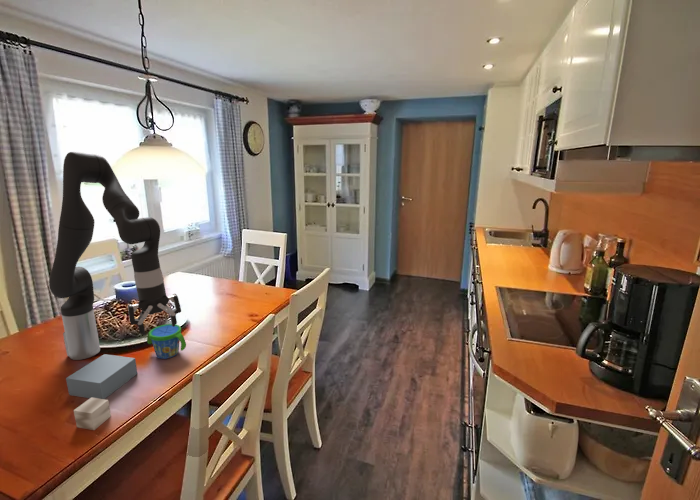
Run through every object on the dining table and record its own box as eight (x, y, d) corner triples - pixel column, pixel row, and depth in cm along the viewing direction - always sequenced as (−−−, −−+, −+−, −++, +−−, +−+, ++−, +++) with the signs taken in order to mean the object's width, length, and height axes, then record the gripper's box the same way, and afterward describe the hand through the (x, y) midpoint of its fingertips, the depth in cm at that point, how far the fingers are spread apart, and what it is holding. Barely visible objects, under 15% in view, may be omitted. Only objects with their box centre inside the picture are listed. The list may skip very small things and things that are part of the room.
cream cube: (76, 427, 95) (73, 410, 94) (94, 413, 101) (91, 397, 99) (94, 430, 95) (91, 413, 93) (110, 416, 100) (108, 400, 98)
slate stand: (69, 395, 108) (65, 378, 106) (106, 369, 121) (104, 354, 120) (102, 400, 106) (99, 383, 105) (137, 373, 119) (135, 358, 118)
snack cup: (194, 352, 134) (192, 328, 131) (171, 366, 124) (169, 341, 122) (164, 343, 139) (161, 320, 136) (140, 356, 130) (137, 332, 127)
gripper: (172, 274, 114) (180, 319, 118) (121, 284, 106) (132, 332, 110) (177, 280, 108) (185, 327, 112) (123, 291, 100) (134, 342, 104)
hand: (158, 329), depth 111 cm, fingers open, 8 cm apart
